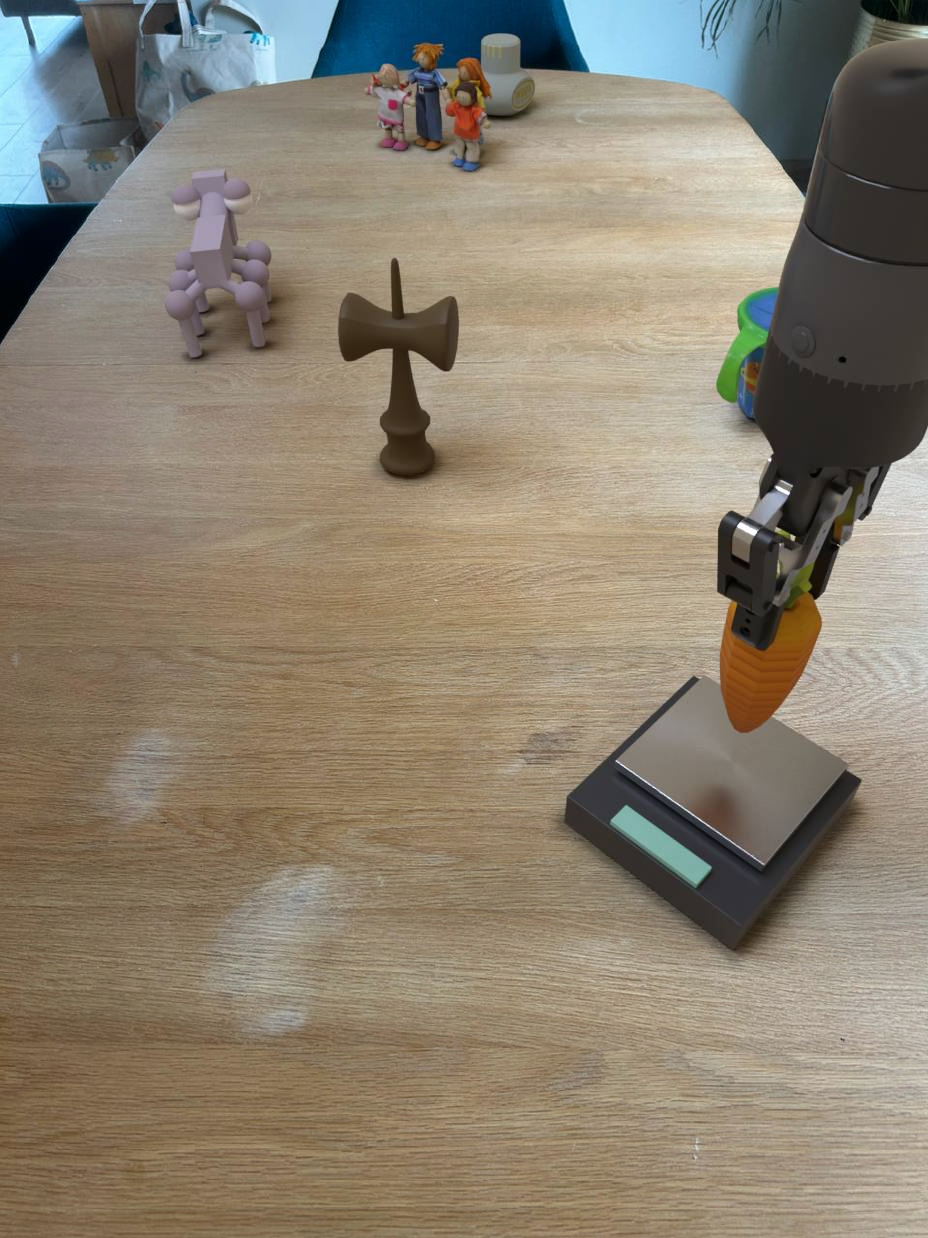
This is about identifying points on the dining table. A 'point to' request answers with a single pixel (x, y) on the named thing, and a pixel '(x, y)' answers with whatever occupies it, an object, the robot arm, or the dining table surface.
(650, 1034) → the dining table surface
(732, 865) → the scale
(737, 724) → the carrot
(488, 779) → the dining table surface
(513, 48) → the air freshener
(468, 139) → the doll family
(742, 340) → the snack cup
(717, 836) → the scale pan
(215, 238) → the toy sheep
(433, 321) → the kendama
